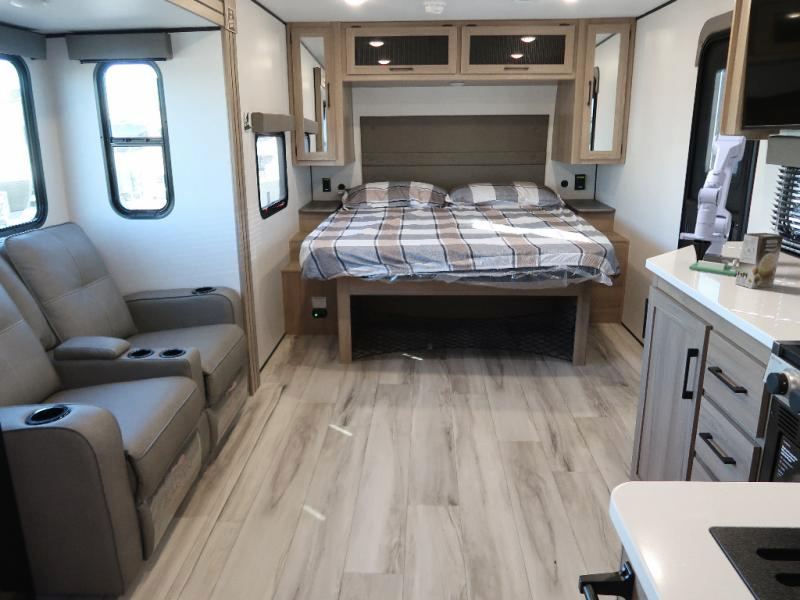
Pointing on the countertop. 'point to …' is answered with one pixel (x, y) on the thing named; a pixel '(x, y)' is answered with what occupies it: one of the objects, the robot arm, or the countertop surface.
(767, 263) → the coffee box
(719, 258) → the plug
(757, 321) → the countertop surface
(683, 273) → the countertop surface
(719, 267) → the board
